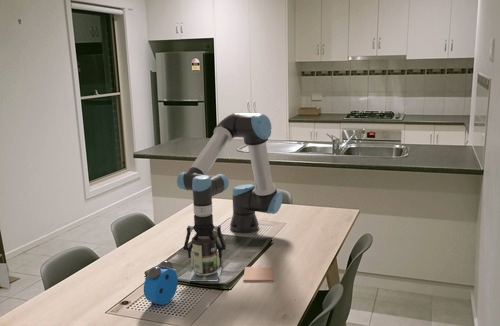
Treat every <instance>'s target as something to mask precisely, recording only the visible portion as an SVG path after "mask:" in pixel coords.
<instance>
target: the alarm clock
mask: <svg viewBox="0 0 500 326" xmlns="http://www.w3.org/2000/svg"><path fill="white" fill-rule="evenodd" d="M173 267H174V265H173V263H172V262H171V261H169V260H163V261H161V262H160V263H159V265H156V266H153V267H151V268H149V270H148V271H147V275H146V277H145V280H144V283H143V295H144V298H145V300H146V301H148V302H151V305H154V304H158V305H161V306H162V305H164V306H165V305H168V304H169V303H170V302H171V301H172V299H173V298H174V296H175V295H176V292H177V289H178V285H179V284H178V282H179V279H178V275H177V272H176V271H175V270H174V269H173Z"/></svg>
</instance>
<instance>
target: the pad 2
mask: <svg viewBox="0 0 500 326" xmlns="http://www.w3.org/2000/svg"><path fill="white" fill-rule="evenodd" d="M243 282H245V283H246V282H249V283H251V282H252V283H255V282H256V283H257V282H259V283H261V282H264V283H265V282H267V283H270V282H271V283H272V282H274V266H245V267H244V273H243Z"/></svg>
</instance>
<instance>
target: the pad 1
mask: <svg viewBox="0 0 500 326" xmlns="http://www.w3.org/2000/svg"><path fill="white" fill-rule="evenodd" d="M222 269H223V268H222V266H218V271H217V272H216V273H214V274H211V275H197V274H195V273H194V267H193V268H192V270H191V273H190V277H189V279H188V281H189V280H217V279H219V280H220V278H221V273H222ZM219 277H220V278H219Z"/></svg>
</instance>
